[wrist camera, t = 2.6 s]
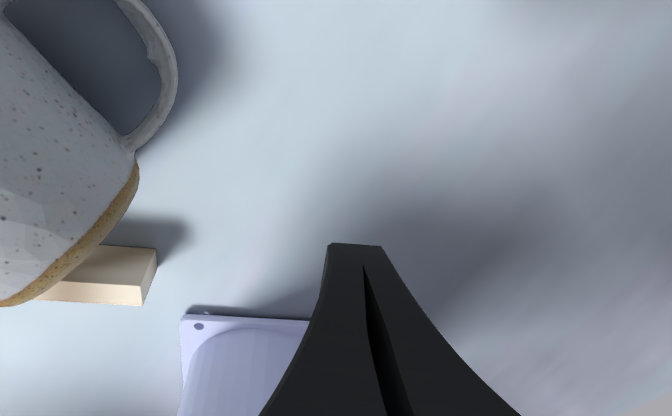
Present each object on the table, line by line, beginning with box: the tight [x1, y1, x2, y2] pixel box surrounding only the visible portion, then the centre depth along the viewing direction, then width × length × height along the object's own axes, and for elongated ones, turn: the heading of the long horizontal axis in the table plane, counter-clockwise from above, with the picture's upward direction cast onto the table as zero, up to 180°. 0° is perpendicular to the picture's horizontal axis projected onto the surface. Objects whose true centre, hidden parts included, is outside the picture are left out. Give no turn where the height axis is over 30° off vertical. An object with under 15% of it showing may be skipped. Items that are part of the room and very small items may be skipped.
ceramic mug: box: [0, 0, 178, 307], centre depth 15 cm, size 11×8×8 cm
